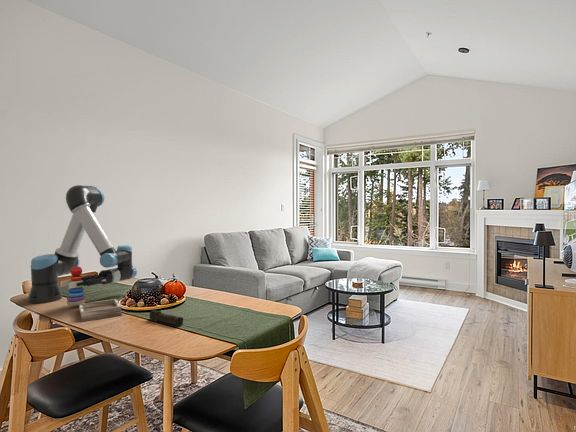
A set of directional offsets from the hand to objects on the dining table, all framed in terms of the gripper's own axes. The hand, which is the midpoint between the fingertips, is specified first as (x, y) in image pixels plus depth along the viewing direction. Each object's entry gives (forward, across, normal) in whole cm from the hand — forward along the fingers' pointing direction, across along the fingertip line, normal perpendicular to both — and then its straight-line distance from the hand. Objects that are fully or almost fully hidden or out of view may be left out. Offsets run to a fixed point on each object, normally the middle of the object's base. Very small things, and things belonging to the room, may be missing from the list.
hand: (65, 285), depth 172 cm
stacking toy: (-5, 0, -11) cm, 12 cm away
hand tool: (-9, -57, -12) cm, 59 cm away
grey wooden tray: (-5, -19, -12) cm, 23 cm away
